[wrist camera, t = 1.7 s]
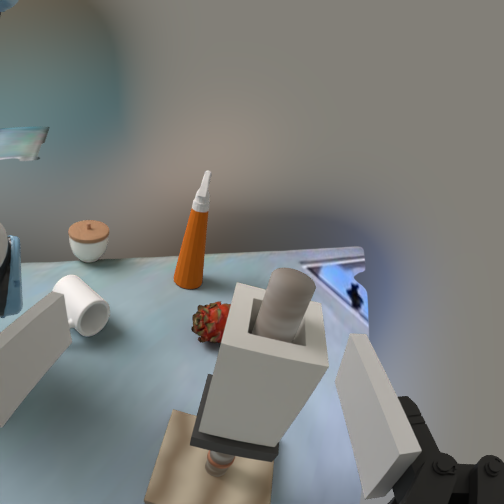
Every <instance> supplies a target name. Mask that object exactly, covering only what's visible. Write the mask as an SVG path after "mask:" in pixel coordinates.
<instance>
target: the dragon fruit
mask: <svg viewBox="0 0 504 504" xmlns="http://www.w3.org/2000/svg"><path fill="white" fill-rule="evenodd" d="M230 306H231V304H222V305H221V301H220V302H215V303H210V305H205V306H202V305H199V306H198V311H197V312H196V314H194V315H193V327H192V331H193V332H194V333H196V334H198V335H199V336H201V338H200V337H199V338H198V340H199V341H200V342H206V341H210V342H214V343H216V342H217V343H221V341H222V337H223V333H224V330H225V326H226V322H227V318H228V314H229V310H230Z"/></svg>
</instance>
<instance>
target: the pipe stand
mask: <svg viewBox="0 0 504 504" xmlns="http://www.w3.org/2000/svg"><path fill="white" fill-rule="evenodd" d="M315 289H316V286H315V283H314V281H313V280H312V279H311V278H310V277H309V276H307V275H306V274H304V273H302V272H300V271H298V270H295V269H291V268H278V269H276V270H274V271H273V272H272V274H271V277H270V280H269V283H268V286H267V289H266V292H265V295H264V298H263V301H262V304H261V307H260V310H259V313H258V316H257V319H256V322H255V325H254V328H253V331H252V334H253V335H257V336H261V337H266V338H270V339H274V340H279V341H283V342H287V343H292V342H293V339H294V337H295V335H296V333H297V330H298V328H299V326H300V324H301V321H302V319H303V317H304V315H305V312H306V310H307V308H308V305H309V303H310V301H311V298H312V296H313V294H314V291H315ZM196 417H197V416H195V415H191V414H187V413H184V412H180V411H177V410H174V409H173V411H172V414H171V417H170V420H169V423H168V426H167V429H166V432H165V435H164V439H163V442H162V445H161V448H160V451H159V454H158V457H157V460H156V463H155V467H154V470H153V473H152V476H151V479H150V482H149V486H148V489H147V492H146V495H145V498H144V502H145V503H146V504H270V501H271V489H272V477H273V464H274V460H273V461H272V462H267V461H261V460H255V459H249V458H243V457H238V456H233V455H228V454H223V453H219V452H214V451H210V450H206V449H202V448H198V447H194V446H190V440H191V436H192V432H193V428H194V425H195V421H196Z"/></svg>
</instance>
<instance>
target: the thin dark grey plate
mask: <svg viewBox="0 0 504 504" xmlns="http://www.w3.org/2000/svg"><path fill="white" fill-rule="evenodd" d="M212 376H213V375H211V374H208V376H207V380H206V384H205V387H204V391H203V395H202V398H201V402H200V406H199V410H198V413H197V417H196V421H195V425H194V428H193V432H192V436H191V440H190V446H194V447H198V448H202V449H206V450H210V451H214V452H219V453H223V454H228V455H233V456H238V457H243V458H249V459H255V460H261V461H267V462H272V461H273V460H274V459H275V458H276V456H277V455H278V448H279V442H278V443H277V445H276V446H275V447H270V446H264V445H258V444H253V443H247V442H242V441H237V440H233V439H228V438H223V437H219V436H215V435H210V434H206V433H202V432H199V427H200V423H201V419H202V415H203V411H204V407H205V404H206V400H207V396H208V392H209V388H210V384H211V380H212Z"/></svg>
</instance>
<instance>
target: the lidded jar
mask: <svg viewBox="0 0 504 504" xmlns="http://www.w3.org/2000/svg"><path fill="white" fill-rule="evenodd" d="M108 238H109V228H108V226H107V225H106V224H104V223H102V222H99V221H94V220H85V221H80V222H77V223H74V224H73V225H72V226H70V228H69V241H70V246H71V249H72V251H73V253H74V254H75V256H76V257H78V258H79V260H81V261H83V262H87V263H90V262H95V261H97V260H98V259H99V258H100V257H101V256H102V255H103V254H104V252H105V251H106V248H107V245H108Z"/></svg>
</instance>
